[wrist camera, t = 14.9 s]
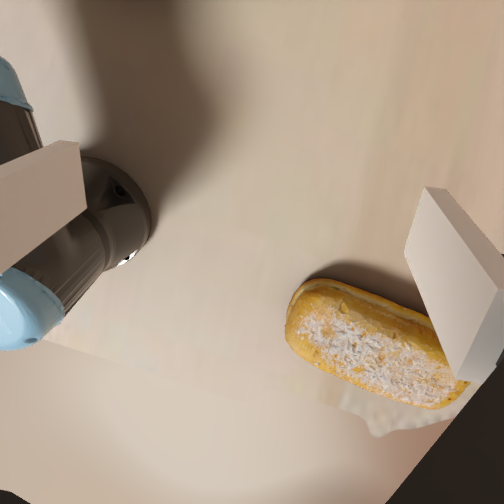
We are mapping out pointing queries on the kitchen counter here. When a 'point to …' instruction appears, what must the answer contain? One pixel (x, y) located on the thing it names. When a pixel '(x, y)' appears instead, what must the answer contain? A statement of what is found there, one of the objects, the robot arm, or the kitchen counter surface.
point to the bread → (371, 343)
